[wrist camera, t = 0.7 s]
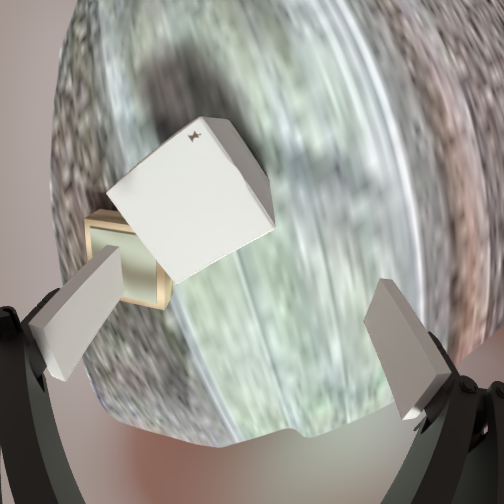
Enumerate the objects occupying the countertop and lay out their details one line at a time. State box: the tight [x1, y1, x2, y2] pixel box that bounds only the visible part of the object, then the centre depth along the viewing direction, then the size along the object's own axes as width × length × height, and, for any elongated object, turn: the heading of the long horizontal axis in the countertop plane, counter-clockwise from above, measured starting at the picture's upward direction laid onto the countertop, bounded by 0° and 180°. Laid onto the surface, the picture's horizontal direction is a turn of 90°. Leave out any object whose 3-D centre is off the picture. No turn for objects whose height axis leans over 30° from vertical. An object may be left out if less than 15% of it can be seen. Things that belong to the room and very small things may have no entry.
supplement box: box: [106, 116, 275, 284], centre depth 25 cm, size 9×9×15 cm
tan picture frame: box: [84, 209, 173, 310], centre depth 34 cm, size 11×11×4 cm
